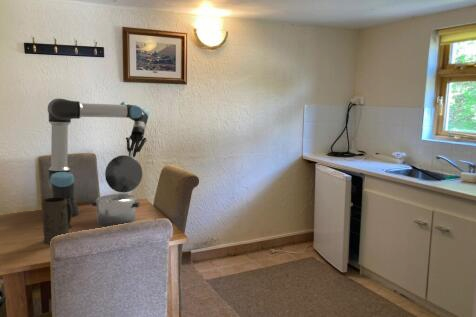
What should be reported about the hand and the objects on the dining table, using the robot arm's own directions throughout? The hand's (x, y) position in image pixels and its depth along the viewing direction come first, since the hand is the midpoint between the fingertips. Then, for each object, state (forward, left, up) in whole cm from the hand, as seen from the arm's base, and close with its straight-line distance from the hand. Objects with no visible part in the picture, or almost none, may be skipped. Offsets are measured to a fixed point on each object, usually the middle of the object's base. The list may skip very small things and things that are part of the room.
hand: (130, 160), depth 229 cm
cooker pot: (+8, -22, -29) cm, 37 cm away
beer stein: (+3, -56, -29) cm, 63 cm away
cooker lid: (+4, -11, -6) cm, 13 cm away
